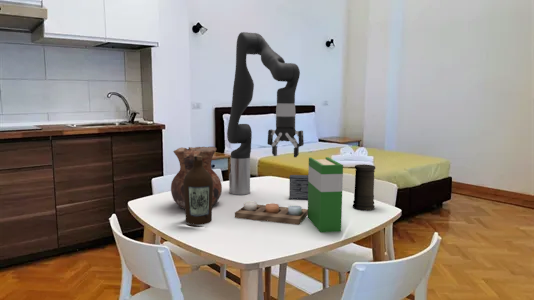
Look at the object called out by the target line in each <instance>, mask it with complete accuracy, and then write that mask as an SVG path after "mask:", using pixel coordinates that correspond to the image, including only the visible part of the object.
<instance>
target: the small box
mask: <svg viewBox="0 0 534 300" xmlns="http://www.w3.org/2000/svg"><path fill="white" fill-rule="evenodd" d="M288 197H289V198H288V200H295V201H296V200H301V201H308V174H306V175H305V174H290V175H289V196H288Z"/></svg>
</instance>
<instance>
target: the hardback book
mask: <svg viewBox="0 0 534 300" xmlns="http://www.w3.org/2000/svg"><path fill="white" fill-rule="evenodd" d="M307 175H308V200H307V209H308V215H307V218H308V220H309V221H310V222H311V223H312V225H313V226H314V227H315V228H316V230H318V232H319V233H335V232H336V233H339V232H342V213H343V211H342V210H343V181H344V180H343V178H344V164H342V163H341V162H338V161H336V160H334V159H332V158H331V157H328V156H325V158H322V159H318V158H317V159H314V158H313V157H308V174H307Z"/></svg>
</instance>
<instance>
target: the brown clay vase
mask: <svg viewBox="0 0 534 300" xmlns="http://www.w3.org/2000/svg"><path fill="white" fill-rule="evenodd" d="M216 151H217V147H216V146H195V147H191V146H189V147H188V148H186V147H178V148H177V149H174V150H173V151H172V152H173V153H174V155H175V156H176V157H177V160H178V163H179V171H178V172H177V174H175V175H174V177H173V179H172V180H171V185H170V193H171V197H172V199H173V201H174V202H175V204H176V205H178V207H180V208H182V209H183V210H185V198H184V185H183V182H184V178H185V176H186V174H187V173H188V172H189V171H190V170H191V169H192V168H193V160H194V158H193V156H202V160H203V167H204V168H205V169H206V170H207V171H208V172H209V174H210V175H211V177H212V180H213V194H212V207H213V206H215V205H216V204H217V203H218V201H219V199H220V198H221V195H222V191H223V185H222V181H221V180H220V177H219V175H218V174H217V173H216V172H215V171H214V170H213V169H212V161H213V160H212V159H213V157H214V154H215V153H216Z"/></svg>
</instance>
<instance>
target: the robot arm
mask: <svg viewBox="0 0 534 300" xmlns="http://www.w3.org/2000/svg"><path fill="white" fill-rule="evenodd" d="M236 38H237V40H236V46H235V47H236V49H235V50H236V52H235V72H234V81H233V88H232V96H231V97H232V99H231V108H230V115H229V121H228V126H227V132H226V137H227V141H228V143H229V144H233V145H235V144H240V145H239V147H238V148H236V149H233V150H232V151H231V152H230V173H229V174H228V176H229V177H228V179H229V182H228V183H229V184H228V186H229V187H228V191H229V192H228V193H229V194H231V195H232V194H233V195H244V196H245V195H248V194H250V193H251V152H252V139H253V137H252V133H253V132H252V127H251V126H250V124H248V123H239V122H240V119H241V116H242V115H243V113H244V111H245V110H246V109H247V108H248V106H249V105H250V103H251V102H252V100H253V95H254V87H255V82H254V80H253V78H252V76H251V73H250V70H249V69H248V66H247V55H252V56H253V55H254V56H255V55H259V56H260V61H261V63H262V64H263V66H264V67H265V68H266V69H267V70H269V72H270V74H271V77H272V78H273V79H274V80H275V81H277V82H285V83H286V84H285V86H284V87H280V88H278V89H277V91H276V106H275V107H276V108H275V111H276V112H275V129H267V130H268V132H267V145H268V146H271V153H272V155H273V156H274V157H277V156H278V146H277V145H279V143H280V142H284V141H285V142H290V143H291V145H293V147H294V148H293V158H297V157H299V153H300V152H299V149H300V147H303V146H304V142H305V141H304V131H303V130H296V105H295V103H296V91H297V86H298V83H299V79H300V75H301V73H300V71H301V70H300V68H299V66H298V65H297V64H296V63H292V62H291V63H290V62H285V59H284V58H283V57H282V56H281V55H280V54H278V53H277V52H276V51H274V49H273V48H271V46H270V44H269V43H268V42H267V40H266V39H265V38H264V37H263V36H262V34H259V33H258V32H257V33H256V32H246V31H243V32H240V33H239V34H238V36H237V37H236ZM274 136H276V137H275V139H274ZM295 136H297V137H298V138H297V139H298V141H297V139H296V138H295Z"/></svg>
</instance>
